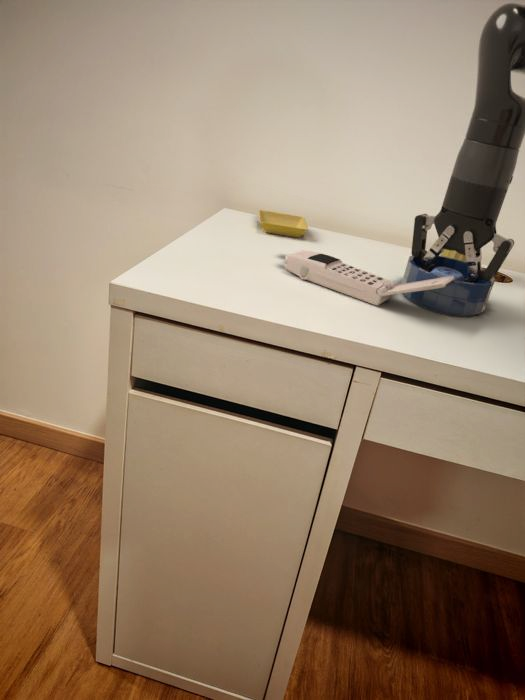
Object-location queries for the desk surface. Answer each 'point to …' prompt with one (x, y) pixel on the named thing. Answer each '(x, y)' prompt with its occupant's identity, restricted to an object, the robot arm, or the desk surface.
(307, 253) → the mobile phone
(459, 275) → the decorative dice
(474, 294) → the bowl
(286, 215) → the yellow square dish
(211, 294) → the desk surface
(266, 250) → the desk surface
